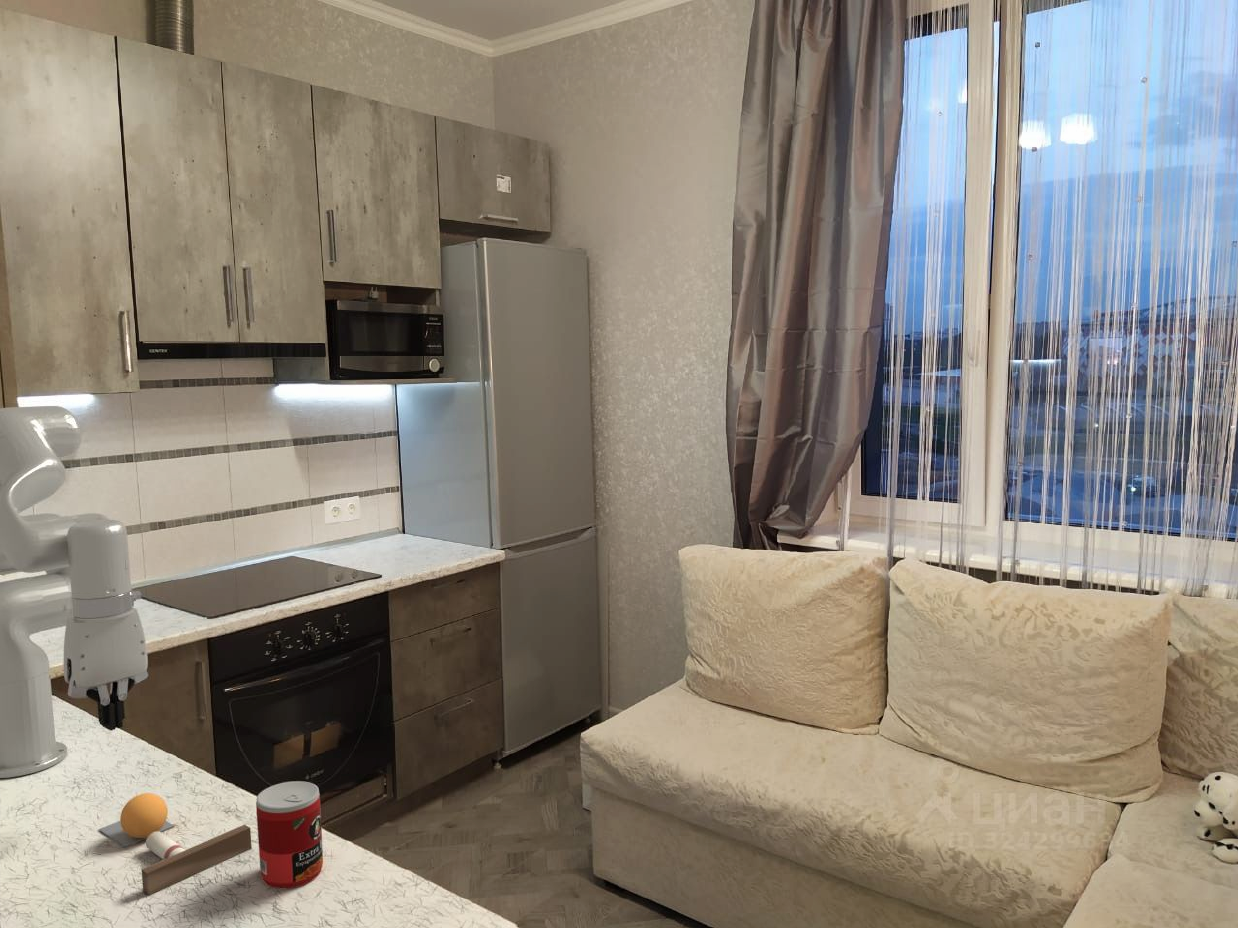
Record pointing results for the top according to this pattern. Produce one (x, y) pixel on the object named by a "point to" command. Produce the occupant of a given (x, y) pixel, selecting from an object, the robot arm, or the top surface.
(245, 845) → the back wall
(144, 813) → the ball
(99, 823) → the top surface
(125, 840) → the grey flat plate
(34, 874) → the top surface
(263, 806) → the canned food
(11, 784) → the top surface
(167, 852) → the pin
